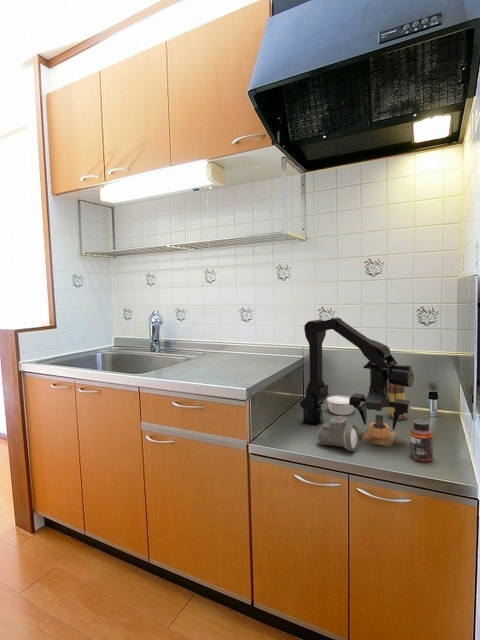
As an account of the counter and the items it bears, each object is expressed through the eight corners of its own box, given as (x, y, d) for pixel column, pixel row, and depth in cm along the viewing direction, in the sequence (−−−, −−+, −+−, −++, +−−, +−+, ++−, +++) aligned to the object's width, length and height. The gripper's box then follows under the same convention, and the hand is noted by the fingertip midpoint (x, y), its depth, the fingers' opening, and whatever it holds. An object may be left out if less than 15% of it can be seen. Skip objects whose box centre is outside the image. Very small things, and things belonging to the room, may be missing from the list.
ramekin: (358, 409, 153) (358, 397, 152) (351, 418, 143) (351, 405, 143) (332, 405, 159) (332, 394, 158) (323, 413, 149) (323, 401, 149)
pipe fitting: (361, 444, 119) (356, 414, 118) (353, 456, 112) (348, 424, 111) (326, 440, 126) (321, 412, 125) (317, 451, 119) (312, 422, 118)
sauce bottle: (406, 416, 142) (406, 366, 141) (404, 421, 137) (404, 370, 135) (389, 413, 146) (389, 365, 144) (386, 418, 141) (385, 368, 139)
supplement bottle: (429, 454, 111) (429, 418, 110) (435, 463, 105) (435, 425, 104) (408, 453, 112) (408, 417, 111) (413, 462, 107) (413, 425, 106)
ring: (367, 435, 122) (367, 427, 122) (372, 429, 128) (372, 421, 127) (386, 439, 119) (386, 430, 119) (390, 432, 124) (390, 424, 124)
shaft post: (362, 440, 122) (362, 417, 121) (369, 431, 130) (369, 409, 129) (390, 446, 117) (390, 422, 116) (396, 436, 124) (396, 414, 124)
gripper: (343, 385, 120) (344, 430, 122) (404, 392, 110) (404, 442, 111) (353, 377, 129) (354, 419, 131) (411, 383, 119) (410, 429, 120)
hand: (379, 427), depth 123 cm, fingers open, 9 cm apart
